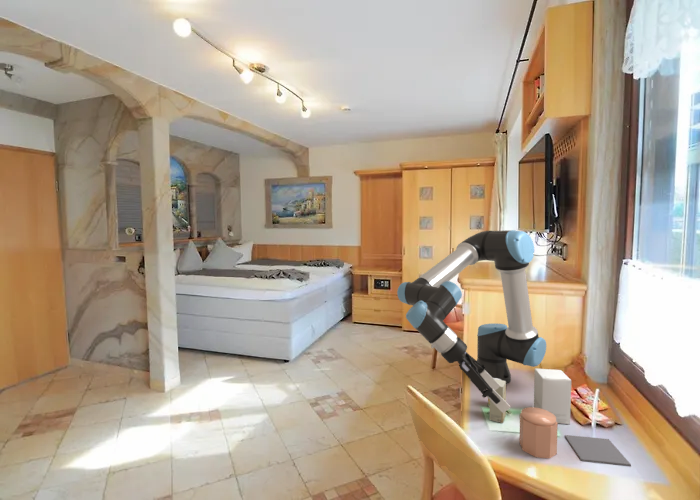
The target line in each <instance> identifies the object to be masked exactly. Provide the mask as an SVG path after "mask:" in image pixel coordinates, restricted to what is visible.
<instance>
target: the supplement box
mask: <svg viewBox="0 0 700 500" xmlns="http://www.w3.org/2000/svg"><path fill="white" fill-rule="evenodd" d="M533 378H534V379H533V380H534V385H533V386H534V387H533V390H534V391H533V407H535V408H540V409H544V410H547V411H549V412H551V413H552V414H554V415H555V417H556V421H557V423H558V424H564V425H571V406H572V405H571V403H572V402H571V401H572V400H571V399H572V398H571V397H572V379H571V378H569V376H568V375H567V374H565V373H564V371H562V370H561V369H549V368H548V369H547V368H537V367H536V368H535V367H534V376H533Z"/></svg>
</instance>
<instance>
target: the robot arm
mask: <svg viewBox="0 0 700 500" xmlns="http://www.w3.org/2000/svg"><path fill="white" fill-rule="evenodd" d="M455 248H456V249H455V250H454V251H452V252H451V253H450V254H449V255H447V256H446V257H445V258H443V259H442V260H441V261H439V262H437V263H436V264H435V265H434V266H432V267H431V268H429V269H428V270H427V271H426V272H424V273H423V274H421V275H420V276H419V277H418V278H416V279H415V280H414V281H412V282H411V281H404V282H402V283H400V284H399V286H398V287H397V292H396V293H397V298H398V300H399V301H400V302H401V303H403V304H406V305H409V306H412V307H410V308H409V309H408V311H407V312H406V314H405V318H406V320H407V322H409V324H410V325H411V326H412V327H413V329H415V330H416V331H417V332H418V333H419V334H420V335H421V336H422V337H423V338H424V339H425V340H426V341H427V342H428V343H429V344H430V345H431V346H430V347H431V349H435V350H436V351H437V352H438V353H440V356H442V357H443V358H444V359H445V360H446V362H447V363H449V364H453V363H456V362H457V363H458V366H459V369H460V370H461V371H462V372H463V373H464V374H465V375H466V376H467V378H468V379H469V380H470V381H471V382H472V383H473V384H474V386H475V387H476V389H477V390H478V391H479V392H480V393H481V394H482V395H481V396H482V398H483V399H485V398H487V399H488V398H489V399H490V400H491V402H492V403H493V404H494V405H495V406H496V407H497V408H498V409H499V410H500V411H501V412H502V413H504V412H505V411H506V412H507V411H508V410H510V408H511V405H510V404H509V403H508V402H507V400H506V401H505V400H504V399H503V398H502V397H501V396H500V395H499V394H498V393H497V392H496V391H495V390H496V389H498V388H499V387H500V385H499V384H498V383H497V382H496V381H495V380H494V379H493V378H498V379H501V380H503V381H506V385H508V384H510V383H511V381H512V375H511V372H510V369H509V366H508V363H507V360H508V361H512V362H515V363H518V364H521V365H523V366H527V367H534V368H535V367H537V366H539V365H540V364H541V363H542V362H543V360H544V357H545V355H546V351H547V342H546V341H547V340H546V339H545V338H544V337H541V336H540V337H539V331H538V329H537V327H535V326H534V325H533V318H532V310H531V304H530V297H529V296H530V295H529V289H528V280H527V276H526V275H527V274H526V269H527V268H528V267H529V266H530V263H531V262H532V261H533V259H534V257H535V255H534V254H535V245H534V242H533V239H532V237H531V236H530V235H529V234H528V233H527V232H526V231H522V230H515V229H511V230H483V231H480V232H478V233H477V232H476V233H475V234H473V235H471V236H469V237H468V238H466V239H464V240H462V242H460V243H458V245H457V246H456V247H455ZM481 261H487V262H489V261H491V262H494V267H495V269H496V270H497V271H499V272H500V279H501V285H502V293H503V297H504V298H503V299H504V306H505V311H506V312H505V313H506V319H507V325H506V324H504V323H484V324H481V325H479V326H478V327H477V345H476V346H477V347H476V348H477V353H476V354H477V358H476V359H475V358H474V357H473V356H472V355H470V354H469V353H468V352H467V349H468V345H467V344H466V343H465V342H464V341H463V340H462V339H461V338H460V337H458V335H457V334H456V332H455V331H454V330H453V329H452V328H451V327H450V326H449V325H447V324H446V323H445V321H444V320H445V319H446V318H447V316H448V315H449V314H450V313H451V312H452V311H453V309H454V308H455V307H456V306H457V305H458V303H459V301H460V300H461V299H462V298H463V297H462V296H463V292H462V290H461V288H460V287H459V286H458V285H457V283H454V282H452V281H451V280H452V279H453V278H455V277H456V276H457V275H459V274H460V273H461V272H462V271H463V270H465V268H467V267H468V266H474V265H475V264H477V263H478V262H481Z"/></svg>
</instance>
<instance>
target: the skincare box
mask: <svg viewBox="0 0 700 500" xmlns="http://www.w3.org/2000/svg"><path fill="white" fill-rule="evenodd" d="M494 380H495V381H496V382H497V383H498V384H499V385H500V387H499V388H498V389H496V390H495V391H496V392H497V393H498V394H499V395H500V396H501V397H502V398H503V399H504V400H505V401H506V402H507V384H506V381H503V380H498V379H494ZM506 416H507V411H505V412H504V413H502V412H501V411H500V410H499V409H498V408H497V407H496V406H495V405H494V404H493V403H492V402H491V400H490V407H489V419H488V420H489V421H492V422H497V423H500V424H503V423H504V421H505V419H506Z"/></svg>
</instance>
